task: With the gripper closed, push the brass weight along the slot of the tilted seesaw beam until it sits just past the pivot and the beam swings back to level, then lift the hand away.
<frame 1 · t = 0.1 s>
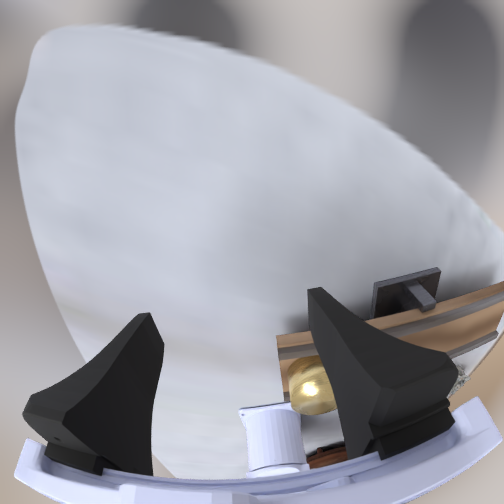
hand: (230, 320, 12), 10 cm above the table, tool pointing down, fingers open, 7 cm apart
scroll: (329, 453, 43), on the table
egg carton: (437, 377, 34), on the table
pivot bracket: (400, 317, 26), on the table
beam: (418, 343, 22), point 4 cm above the table, hinge at -3.5°, touching brass weight
brass weight: (314, 370, 22), point 4 cm above the table, touching beam
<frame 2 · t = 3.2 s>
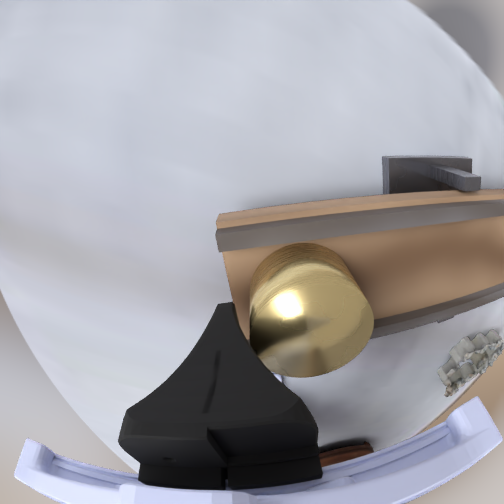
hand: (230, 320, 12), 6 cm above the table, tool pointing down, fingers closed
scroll: (327, 456, 33), on the table
egg carton: (466, 350, 25), on the table
pivot bracket: (426, 230, 17), on the table
beam: (463, 257, 13), point 4 cm above the table, hinge at -3.3°, touching brass weight
brass weight: (300, 289, 13), point 4 cm above the table, touching beam, gripper
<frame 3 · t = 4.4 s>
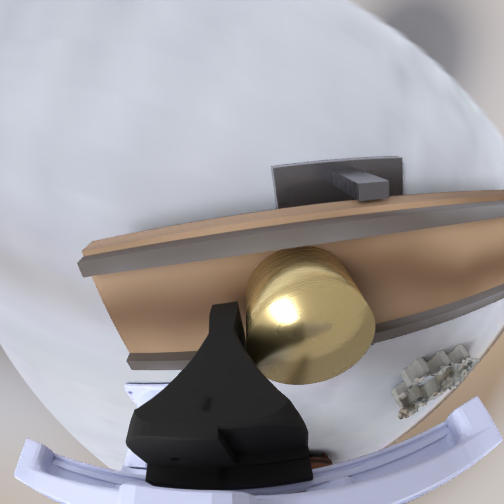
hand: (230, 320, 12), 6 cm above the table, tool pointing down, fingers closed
egg carton: (428, 367, 25), on the table
pivot bracket: (342, 245, 17), on the table
beam: (370, 280, 13), point 4 cm above the table, hinge at -2.1°
brass weight: (298, 293, 13), point 5 cm above the table, touching gripper
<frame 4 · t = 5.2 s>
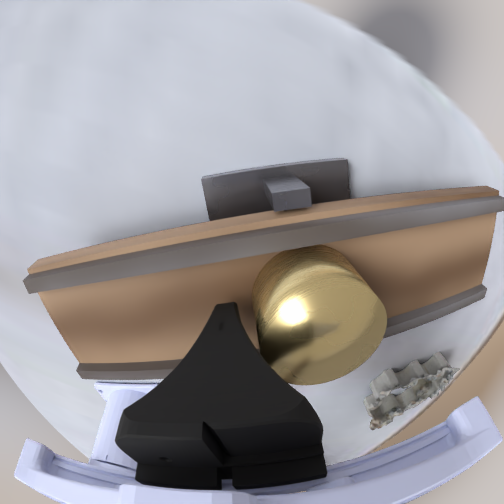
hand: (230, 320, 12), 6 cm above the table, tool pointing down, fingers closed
egg carton: (404, 376, 25), on the table
pivot bracket: (285, 253, 17), on the table
beam: (301, 293, 13), point 4 cm above the table, hinge at 1.7°, touching brass weight
brass weight: (304, 292, 13), point 5 cm above the table, touching beam, gripper
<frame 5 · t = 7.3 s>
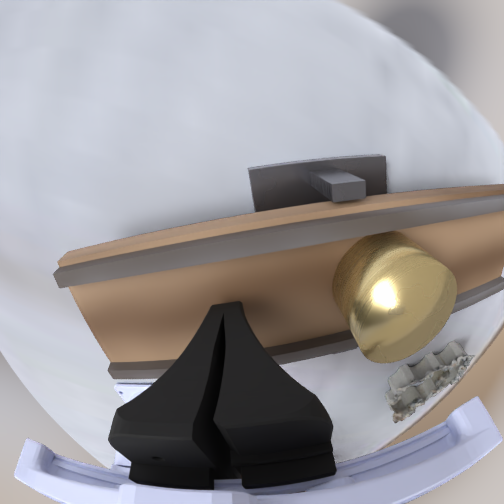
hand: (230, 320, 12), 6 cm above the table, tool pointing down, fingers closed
egg carton: (422, 368, 25), on the table
pivot bracket: (324, 246, 17), on the table
beam: (350, 283, 13), point 4 cm above the table, hinge at 1.0°, touching brass weight
brass weight: (377, 277, 12), point 5 cm above the table, touching beam
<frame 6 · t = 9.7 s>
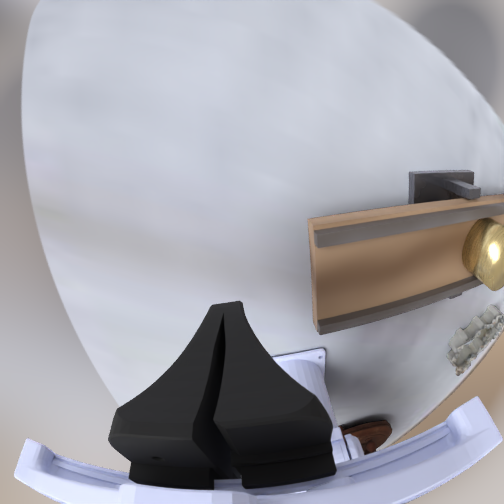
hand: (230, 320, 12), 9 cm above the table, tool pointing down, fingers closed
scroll: (349, 435, 38), on the table
egg carton: (470, 329, 29), on the table
pivot bracket: (438, 228, 21), on the table
beam: (468, 247, 17), point 4 cm above the table, hinge at 0.8°, touching brass weight
brass weight: (479, 244, 17), point 5 cm above the table, touching beam
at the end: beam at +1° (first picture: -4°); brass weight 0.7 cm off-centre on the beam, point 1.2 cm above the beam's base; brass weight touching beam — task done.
